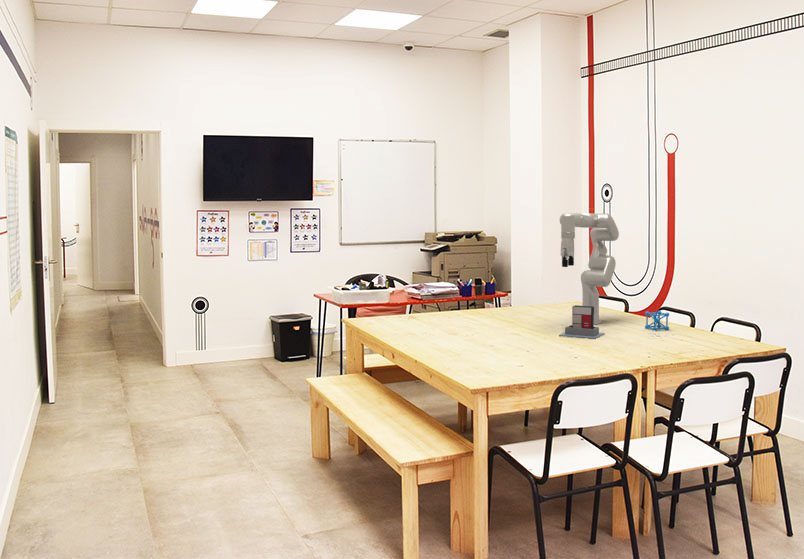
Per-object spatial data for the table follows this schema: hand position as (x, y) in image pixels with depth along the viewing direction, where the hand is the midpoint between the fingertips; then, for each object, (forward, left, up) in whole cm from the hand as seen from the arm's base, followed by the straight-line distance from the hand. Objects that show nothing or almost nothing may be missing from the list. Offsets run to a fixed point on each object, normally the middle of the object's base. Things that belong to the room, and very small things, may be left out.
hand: (567, 266), depth 413 cm
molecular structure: (-22, +44, -37) cm, 61 cm away
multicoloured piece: (+13, +13, -36) cm, 40 cm away
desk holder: (+14, +13, -36) cm, 41 cm away
